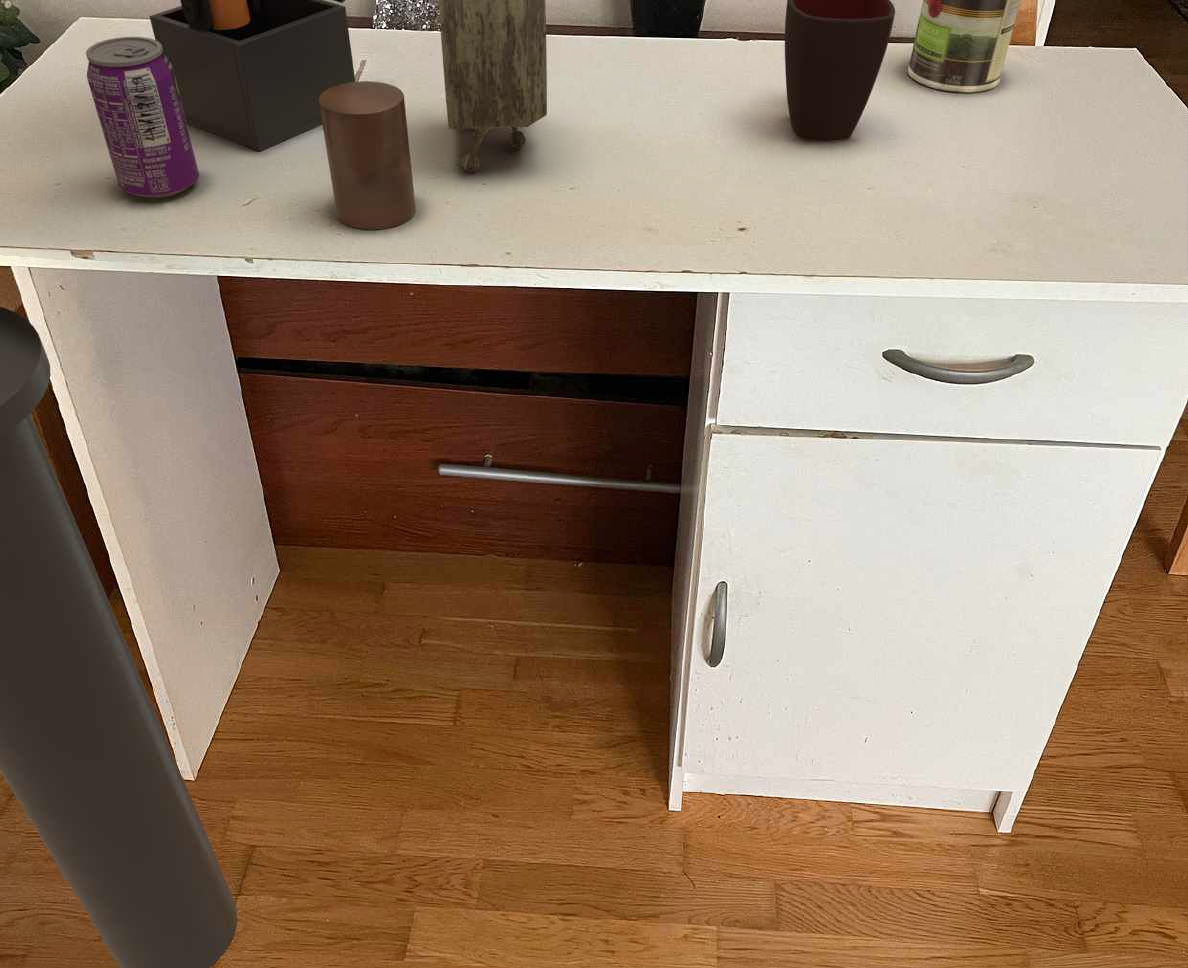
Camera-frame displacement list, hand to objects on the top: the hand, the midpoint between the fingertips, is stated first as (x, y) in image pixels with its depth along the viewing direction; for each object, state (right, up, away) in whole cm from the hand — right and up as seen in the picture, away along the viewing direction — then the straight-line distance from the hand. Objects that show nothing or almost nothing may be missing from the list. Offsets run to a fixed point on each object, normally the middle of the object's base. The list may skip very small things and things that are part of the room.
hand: (224, 16), depth 106 cm
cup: (+58, -6, +9) cm, 59 cm away
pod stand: (+16, -21, -6) cm, 27 cm away
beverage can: (-5, -18, -3) cm, 18 cm away
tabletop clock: (+26, -11, +4) cm, 28 cm away
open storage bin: (+2, -5, +9) cm, 10 cm away
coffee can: (+75, +3, +19) cm, 78 cm away
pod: (0, 0, 0) cm, 0 cm away
